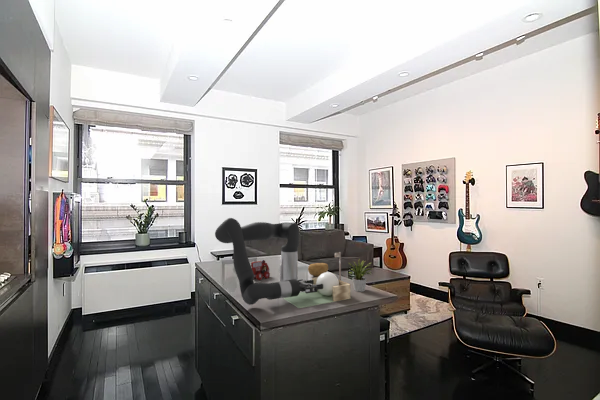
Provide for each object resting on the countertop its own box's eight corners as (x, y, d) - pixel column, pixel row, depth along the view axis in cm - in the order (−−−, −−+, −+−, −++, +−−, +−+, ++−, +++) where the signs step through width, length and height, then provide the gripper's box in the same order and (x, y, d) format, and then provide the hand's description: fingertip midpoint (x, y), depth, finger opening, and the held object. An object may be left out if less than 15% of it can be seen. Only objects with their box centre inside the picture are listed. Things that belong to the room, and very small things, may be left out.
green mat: (299, 309, 135) (299, 308, 135) (279, 296, 153) (279, 296, 153) (351, 299, 149) (351, 298, 149) (328, 288, 166) (328, 288, 166)
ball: (334, 265, 157) (341, 285, 160) (313, 272, 159) (319, 291, 161) (336, 275, 147) (343, 296, 149) (313, 282, 148) (320, 302, 150)
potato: (332, 276, 193) (332, 262, 193) (314, 279, 186) (314, 265, 186) (322, 273, 202) (322, 260, 201) (304, 276, 194) (304, 262, 194)
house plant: (353, 296, 152) (353, 262, 152) (338, 289, 165) (338, 257, 165) (378, 293, 158) (378, 260, 158) (362, 286, 171) (362, 255, 171)
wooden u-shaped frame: (334, 301, 144) (334, 257, 144) (312, 290, 161) (311, 251, 161) (353, 298, 150) (353, 255, 149) (329, 287, 167) (329, 249, 166)
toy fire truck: (272, 277, 190) (272, 260, 190) (255, 281, 182) (255, 262, 182) (265, 275, 195) (265, 258, 195) (248, 279, 187) (248, 261, 187)
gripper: (294, 284, 137) (326, 279, 145) (280, 277, 150) (310, 273, 158) (294, 301, 137) (326, 295, 145) (280, 293, 150) (310, 288, 158)
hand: (317, 284), depth 152 cm, fingers open, 8 cm apart
